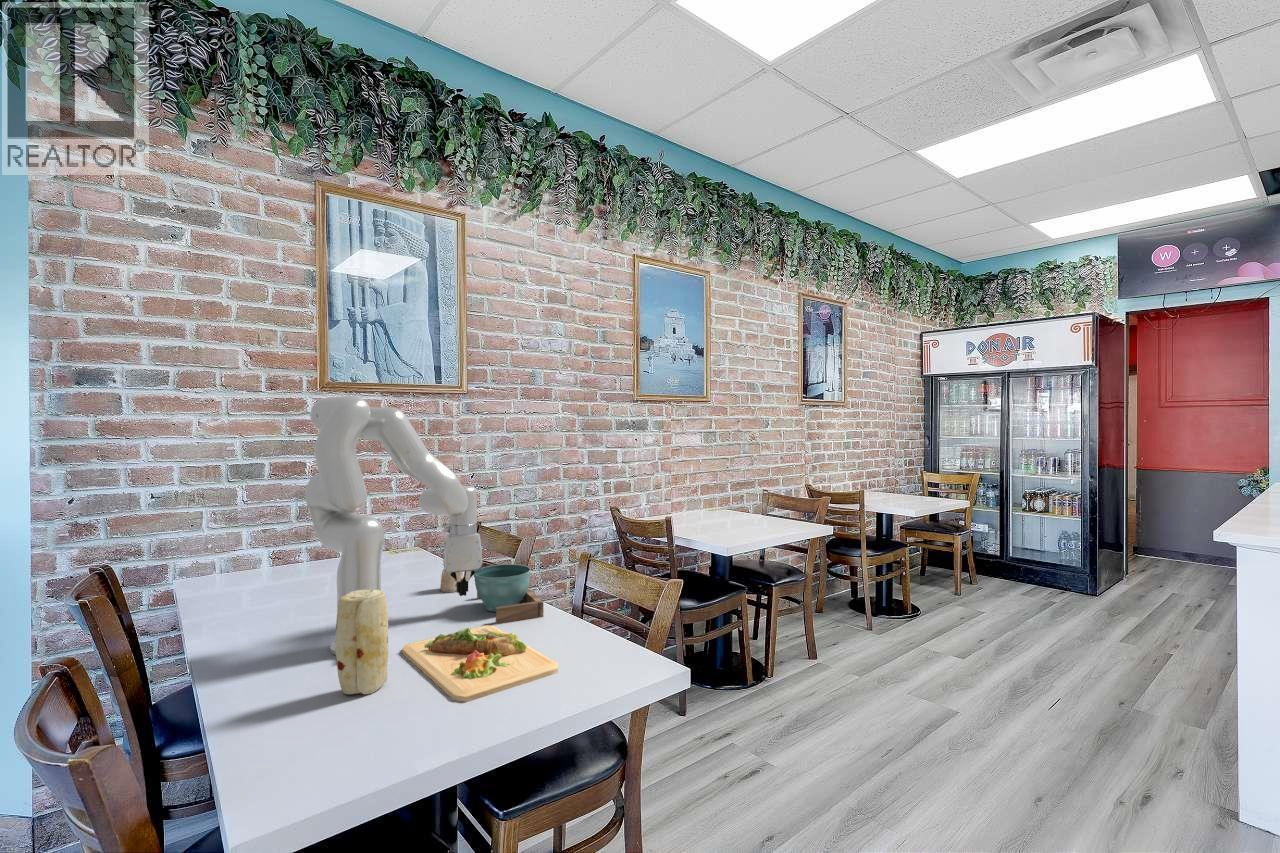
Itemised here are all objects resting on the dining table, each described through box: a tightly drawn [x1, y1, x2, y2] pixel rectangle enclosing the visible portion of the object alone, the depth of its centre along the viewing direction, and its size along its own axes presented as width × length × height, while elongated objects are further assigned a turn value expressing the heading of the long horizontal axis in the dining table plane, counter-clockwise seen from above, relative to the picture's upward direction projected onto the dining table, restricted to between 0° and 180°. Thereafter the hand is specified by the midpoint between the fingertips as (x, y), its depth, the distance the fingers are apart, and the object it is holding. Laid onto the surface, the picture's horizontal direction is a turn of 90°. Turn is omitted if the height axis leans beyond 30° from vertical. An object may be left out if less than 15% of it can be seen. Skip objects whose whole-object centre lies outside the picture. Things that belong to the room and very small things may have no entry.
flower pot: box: [473, 563, 532, 613], centre depth 172 cm, size 16×16×11 cm
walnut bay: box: [476, 588, 544, 625], centre depth 172 cm, size 26×13×4 cm, turn 27°
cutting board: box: [401, 624, 559, 703], centre depth 134 cm, size 35×23×8 cm
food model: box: [335, 590, 389, 695], centre depth 119 cm, size 10×7×20 cm
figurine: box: [440, 570, 464, 594], centre depth 190 cm, size 7×7×12 cm
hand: (462, 594), depth 167 cm, fingers closed
